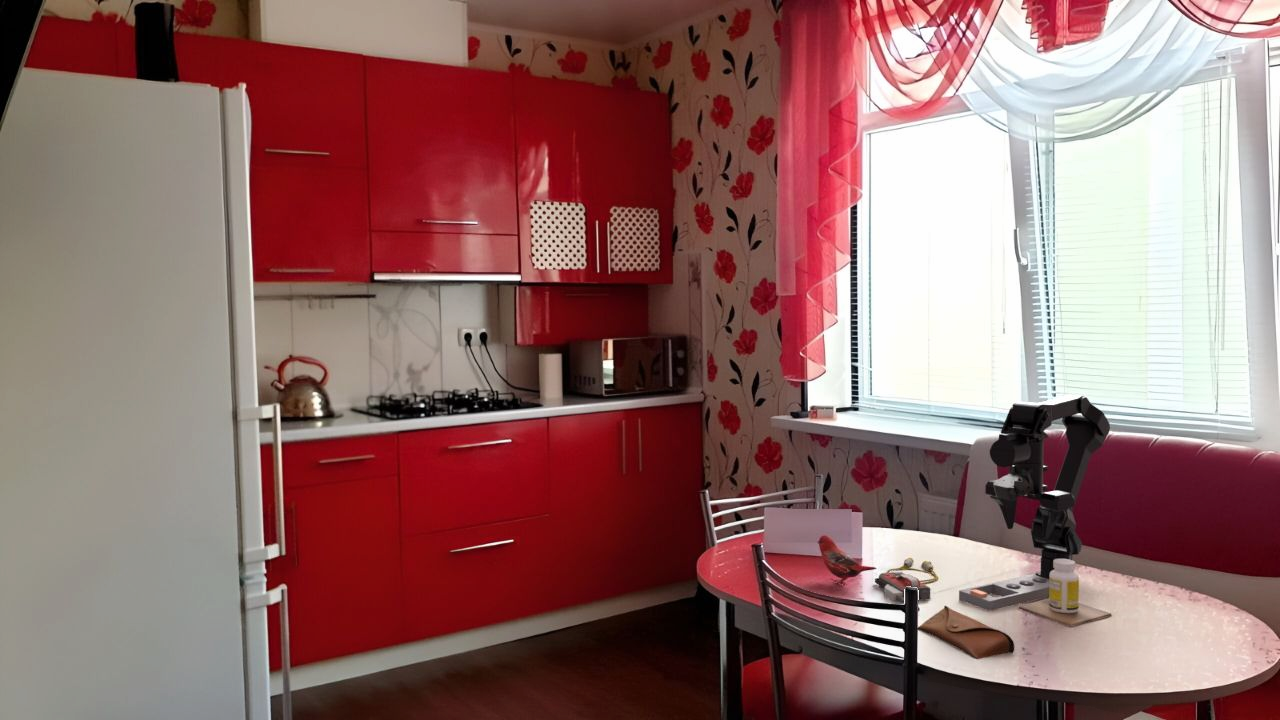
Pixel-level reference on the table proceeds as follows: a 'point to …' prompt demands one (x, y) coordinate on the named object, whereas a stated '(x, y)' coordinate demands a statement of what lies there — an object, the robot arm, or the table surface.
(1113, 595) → the table surface
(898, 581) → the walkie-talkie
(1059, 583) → the supplement bottle
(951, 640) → the sunglasses case
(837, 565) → the decorative bird figurine
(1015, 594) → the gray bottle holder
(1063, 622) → the walnut pad
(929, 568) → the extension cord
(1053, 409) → the robot arm
